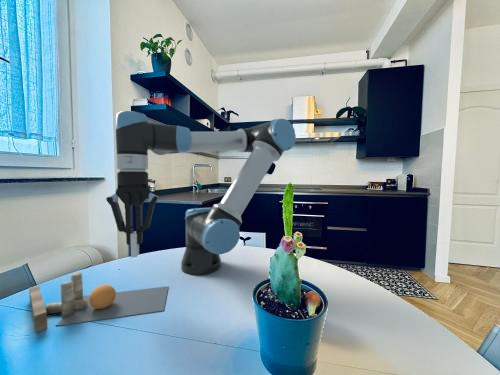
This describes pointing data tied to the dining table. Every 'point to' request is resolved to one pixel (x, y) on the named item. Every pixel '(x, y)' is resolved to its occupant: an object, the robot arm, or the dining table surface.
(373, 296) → the dining table surface
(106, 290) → the ball
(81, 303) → the front pin
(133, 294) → the mat
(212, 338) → the dining table surface
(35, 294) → the back wall
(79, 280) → the pin
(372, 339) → the dining table surface
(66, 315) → the pin
